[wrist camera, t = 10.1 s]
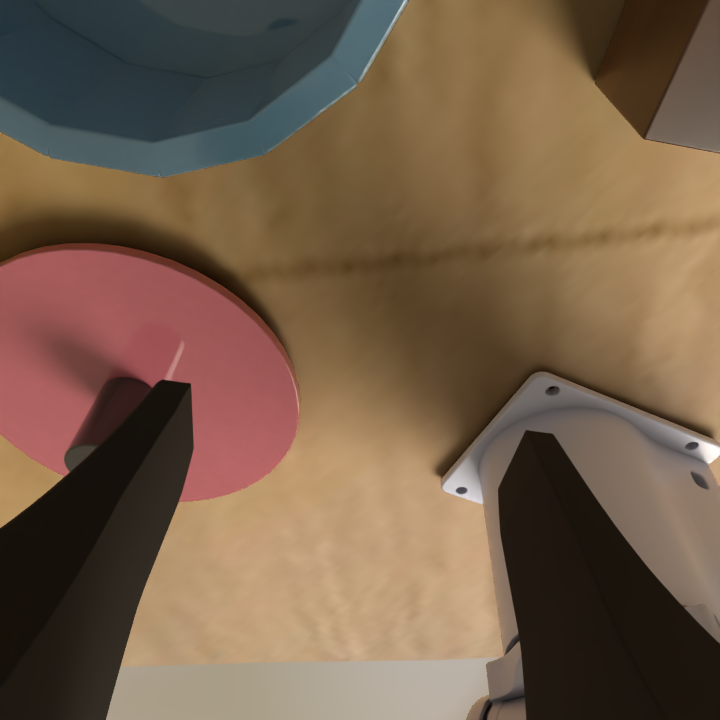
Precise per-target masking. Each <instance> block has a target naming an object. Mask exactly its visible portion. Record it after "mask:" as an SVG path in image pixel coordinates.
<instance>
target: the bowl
mask: <svg viewBox="0 0 720 720" xmlns="http://www.w3.org/2000/svg"><path fill="white" fill-rule="evenodd" d="M408 2H409V0H0V132H1V133H3V134H5V135H7V136H9V137H11V138H13V139H15V140H16V141H18V142H20V143H22V144H24V145H26V146H28V147H30V148H32V149H33V150H35V151H37V152H39V153H41V154H43V155H46V156H49V157H50V158H52V159H58V160H64V161H69V162H75V163H81V164H87V165H93V166H98V167H104V168H110V169H116V170H122V171H127V172H133V173H139V174H145V175H151V176H156V177H168V176H173V175H177V174H182V173H186V172H191V171H195V170H200V169H204V168H209V167H214V166H218V165H223V164H227V163H232V162H236V161H241V160H245V159H250V158H254V157H259V156H264V155H266V153H268V152H271V151H272V150H273V149H275V148H276V147H277V146H279V145H280V144H281V143H283V142H284V141H285V140H287V139H288V138H289V137H291V136H292V135H293V134H295V133H296V132H297V131H299V130H300V129H301V128H303V127H304V126H305V125H307V124H308V123H309V122H311V121H312V120H313V119H315V118H316V117H317V116H319V115H320V114H321V113H323V112H324V111H325V110H327V109H328V108H329V107H331V106H332V105H333V104H335V103H336V102H337V101H339V100H340V99H341V98H343V97H344V96H345V95H347V94H348V93H349V92H351V91H352V90H353V89H355V88H356V87H357V85H358V82H361V81H362V80H363V78H364V76H365V75H366V73H367V71H368V70H369V68H370V66H371V65H372V63H373V61H374V60H375V58H376V56H377V54H378V53H379V51H380V49H381V48H382V46H383V44H384V43H385V41H386V39H387V37H388V36H389V34H390V32H391V31H392V29H393V27H394V26H395V24H396V22H397V20H398V19H399V17H400V15H401V14H402V12H403V10H404V9H405V7H406V5H407V4H408Z"/></svg>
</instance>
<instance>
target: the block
mask: <svg viewBox="0 0 720 720" xmlns="http://www.w3.org/2000/svg"><path fill="white" fill-rule="evenodd" d="M595 85H596V86H597V87H598V88H599V89H600V90H601V91H602V93H603V94H604V95H605V96H606V97H607V98H608V99H609V101H610V102H611V103H612V104H613V105H614V106H615V107H616V108H617V110H618V111H619V112H620V113H621V114H622V115H623V116H624V118H625V119H626V120H627V121H628V122H629V123H630V124H631V126H632V127H633V128H634V129H635V130H636V131H637V132H638V134H639V135H640V136H641V137H642V138H643V139H646V140H651V141H656V142H662V143H667V144H672V145H678V146H683V147H688V148H694V149H699V150H704V151H710V152H715V153H720V0H627V1H626V4H625V6H624V9H623V11H622V14H621V16H620V19H619V21H618V24H617V26H616V29H615V32H614V34H613V37H612V39H611V42H610V44H609V47H608V49H607V52H606V55H605V57H604V60H603V62H602V65H601V67H600V70H599V72H598V75H597V77H596V80H595Z"/></svg>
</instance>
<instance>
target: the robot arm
mask: <svg viewBox="0 0 720 720" xmlns="http://www.w3.org/2000/svg"><path fill="white" fill-rule="evenodd" d="M551 386H556V387H555V388H553V389H547V388H549V387H551ZM690 442H691V443H690ZM193 450H194V439H193V416H192V392H191V383H185V382H177V381H170V380H163V379H162V380H160V381H159V382H157V383H156V384H155V385H154V386H153V388H152V389H151V390H150V391H149V392H148V393H147V395H146V396H145V397H144V398H143V399H142V400H141V401H140V403H139V404H138V405H137V406H136V407H135V408H134V409H133V410H132V411H131V412H130V414H129V415H128V416H127V417H126V418H125V419H124V420H123V421H122V422H121V423H120V424H119V425H118V426H117V427H116V428H115V429H114V430H113V431H112V432H111V433H110V434H109V435H108V436H107V437H106V438H105V439H104V440H103V441H102V442H101V443H100V444H99V445H98V446H97V447H96V448H95V449H94V450H93V451H92V452H91V453H90V454H89V455H88V456H87V457H86V458H85V459H84V460H83V461H82V462H80V463H79V464H78V465H77V466H76V467H75V468H74V469H73V470H72V471H70V472H69V473H68V474H67V475H66V476H65V477H64V478H63V479H62V480H61V481H59V482H58V483H57V484H56V485H55V486H54V487H52V488H51V489H50V490H49V491H48V492H46V493H45V494H44V495H43V496H42V497H40V498H39V499H38V500H37V501H35V502H34V503H33V504H32V505H30V506H29V507H28V508H27V509H25V510H24V511H23V512H21V513H20V514H19V515H18V516H16V517H15V518H14V519H12V520H11V521H10V522H8V523H7V524H5V525H4V526H3V527H1V528H0V720H106V717H107V713H108V709H109V705H110V701H111V698H112V694H113V690H114V687H115V684H116V680H117V676H118V673H119V669H120V666H121V662H122V658H123V655H124V651H125V648H126V644H127V641H128V638H129V634H130V631H131V627H132V624H133V620H134V617H135V614H136V610H137V607H138V604H139V601H140V598H141V596H142V593H143V590H144V587H145V585H146V582H147V580H148V577H149V575H150V572H151V570H152V567H153V565H154V562H155V560H156V557H157V555H158V552H159V550H160V547H161V545H162V542H163V540H164V537H165V535H166V532H167V530H168V527H169V525H170V522H171V520H172V517H173V515H174V512H175V509H176V507H177V504H178V502H179V499H180V497H181V494H182V491H183V488H184V484H185V480H186V477H187V473H188V469H189V465H190V462H191V458H192V454H193ZM719 455H720V444H719V442H718V441H716V440H714V439H712V438H709V437H707V436H704V435H702V434H699V433H697V432H694V431H692V430H689V429H687V428H684V427H682V426H680V425H677V424H675V423H672V422H670V421H667V420H665V419H662V418H660V417H657V416H655V415H652V414H650V413H647V412H645V411H642V410H640V409H637V408H635V407H632V406H630V405H627V404H625V403H622V402H620V401H618V400H615V399H613V398H610V397H608V396H605V395H603V394H600V393H598V392H595V391H593V390H590V389H588V388H585V387H583V386H580V385H578V384H575V383H573V382H570V381H568V380H565V379H563V378H560V377H558V376H556V375H553V374H551V373H548V372H544V371H542V372H537V373H534V374H532V375H531V376H530V377H529V378H528V379H527V380H526V382H525V383H524V384H523V385H522V386H521V387H520V388H519V390H518V391H517V392H516V393H515V394H514V395H513V397H512V398H511V399H510V400H509V401H508V402H507V404H506V405H505V406H504V407H503V408H502V409H501V410H500V412H499V413H498V414H497V415H496V416H495V417H494V419H493V420H492V421H491V422H490V423H489V424H488V425H487V427H486V428H485V429H484V430H483V431H482V432H481V434H480V435H479V436H478V437H477V438H476V439H475V441H474V442H473V443H472V444H471V445H470V446H469V447H468V449H467V450H466V451H465V452H464V453H463V454H462V456H461V457H460V458H459V459H458V460H457V461H456V463H455V464H454V465H453V466H452V467H451V468H450V469H449V471H448V472H447V473H446V474H445V475H444V476H443V478H442V479H441V488H442V490H443V491H445V492H447V493H450V494H453V495H456V496H459V497H462V498H465V499H468V500H471V501H474V502H477V503H480V504H483V506H484V513H485V521H486V528H487V536H488V543H489V550H490V558H491V565H492V572H493V580H494V587H495V594H496V602H497V609H498V616H499V624H500V631H501V638H502V646H503V653H504V656H503V657H501V658H499V659H497V660H494V661H491V662H488V663H487V664H486V669H487V678H488V687H489V695H487V696H485V697H482V698H480V699H479V700H478V701H477V702H476V703H475V704H474V705H473V706H472V708H471V710H470V711H469V714H468V716H467V719H466V720H720V487H719V485H718V483H717V481H716V479H715V477H714V475H713V473H712V471H711V469H710V467H709V465H708V464H710V463H711V462H712V461H713V460H715V459H716V458H717V457H719Z"/></svg>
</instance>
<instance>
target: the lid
mask: <svg viewBox="0 0 720 720" xmlns="http://www.w3.org/2000/svg"><path fill="white" fill-rule="evenodd" d="M162 379H163V380H170V381H177V382H185V383H191V392H192V416H193V439H194V450H193V454H192V458H191V462H190V465H189V469H188V473H187V477H186V480H185V484H184V488H183V491H182V494H181V497H180V499H179V502H186V501H199V500H205V499H211V498H216V497H220V496H224V495H228V494H231V493H234V492H236V491H239V490H241V489H244V488H246V487H248V486H250V485H252V484H253V483H255V482H257V481H259V480H260V479H262V478H263V477H264V476H266V475H267V474H268V473H270V472H271V471H272V470H273V469H274V468H275V467H276V466H277V465H278V464H279V463H280V462H281V461H282V459H283V458H284V456H285V455H286V454H287V452H288V451H289V449H290V447H291V445H292V443H293V440H294V438H295V436H296V432H297V427H298V423H299V418H300V403H301V399H300V392H299V384H298V381H297V378H296V374H295V371H294V368H293V365H292V363H291V361H290V359H289V357H288V355H287V353H286V351H285V349H284V348H283V346H282V345H281V343H280V342H279V340H278V339H277V337H276V336H275V334H274V333H273V331H272V330H271V329H270V328H269V327H268V326H267V325H266V323H265V322H264V321H263V320H262V319H261V318H260V317H259V315H258V314H256V313H255V312H254V311H253V310H252V309H251V308H250V307H249V306H248V305H247V304H245V303H244V302H243V301H242V300H241V299H240V298H238V297H237V296H236V295H234V294H233V293H231V292H230V291H229V290H227V289H226V288H224V287H223V286H222V285H220V284H219V283H217V282H215V281H213V280H212V279H210V278H208V277H206V276H205V275H203V274H201V273H199V272H198V271H196V270H193V269H191V268H189V267H187V266H184V265H182V264H180V263H178V262H175V261H173V260H170V259H167V258H164V257H161V256H158V255H155V254H152V253H149V252H146V251H141V250H137V249H132V248H128V247H123V246H117V245H108V244H99V243H66V244H58V245H51V246H44V247H40V248H37V249H33V250H29V251H26V252H22V253H20V254H18V255H16V256H13V257H11V258H9V259H7V260H5V261H3V262H1V263H0V434H1V435H2V436H3V437H5V438H6V439H7V440H8V441H9V442H10V443H12V444H13V445H14V446H15V447H16V448H18V449H19V450H21V451H22V452H23V453H25V454H26V455H28V456H29V457H30V458H32V459H34V460H35V461H37V462H39V463H40V464H42V465H44V466H45V467H47V468H49V469H50V470H52V471H54V472H56V473H58V474H60V475H62V476H64V477H65V476H66V475H67V474H68V473H69V472H70V471H72V470H73V469H74V468H75V467H76V466H77V465H78V464H79V463H80V462H82V461H83V460H84V459H85V458H86V457H87V456H88V455H89V454H90V453H91V452H92V451H93V450H94V449H95V448H96V447H97V446H98V445H99V444H100V443H101V442H102V441H103V440H104V439H105V438H106V437H107V436H108V435H109V434H110V433H111V432H112V431H113V430H114V429H115V428H116V427H117V426H118V425H119V424H120V423H121V422H122V421H123V420H124V419H125V418H126V417H127V416H128V415H129V414H130V412H131V411H132V410H133V409H134V408H135V407H136V406H137V405H138V404H139V403H140V401H141V400H142V399H143V398H144V397H145V396H146V395H147V393H148V392H149V391H150V390H151V389H152V388H153V386H154V385H155V384H156V383H157V382H159V381H160V380H162Z"/></svg>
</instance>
